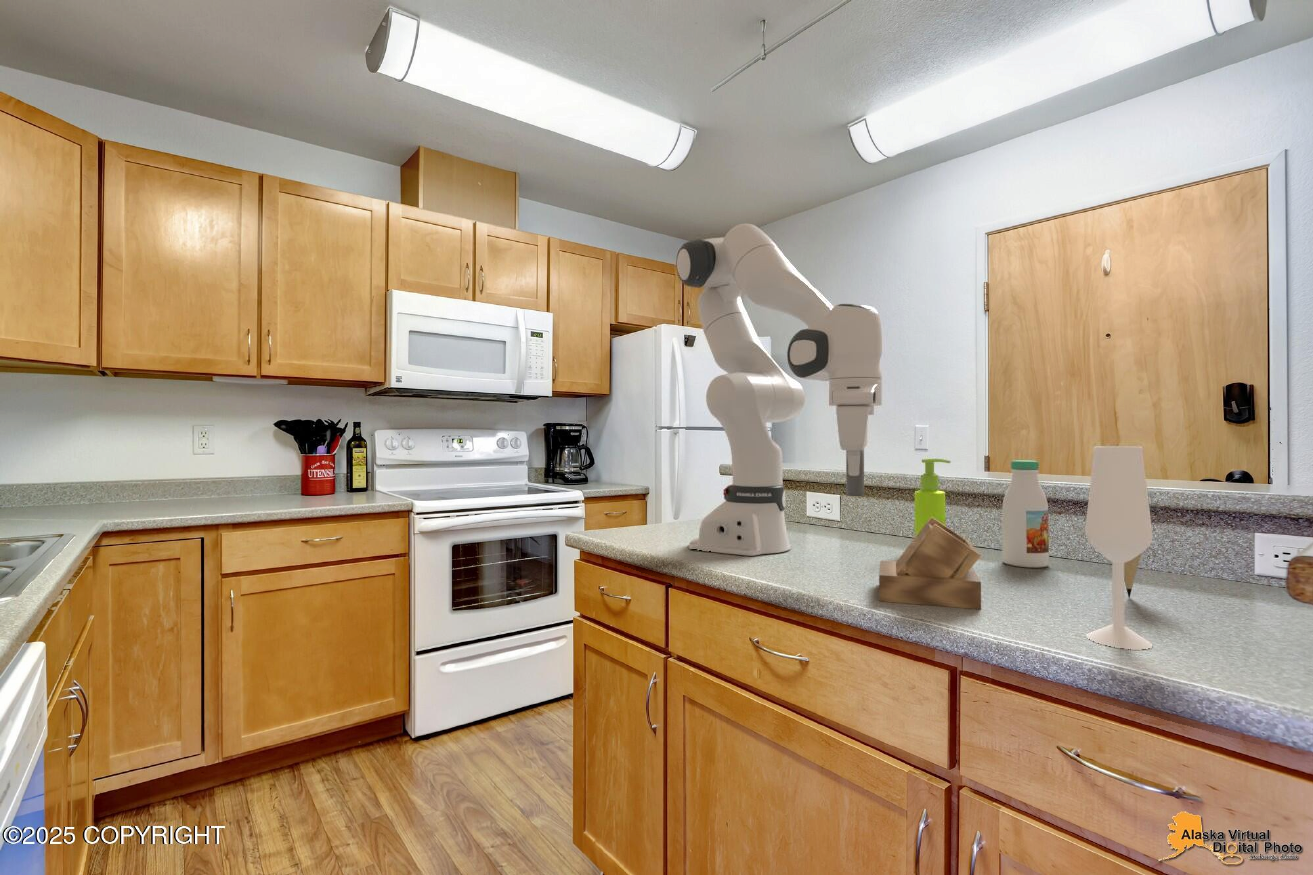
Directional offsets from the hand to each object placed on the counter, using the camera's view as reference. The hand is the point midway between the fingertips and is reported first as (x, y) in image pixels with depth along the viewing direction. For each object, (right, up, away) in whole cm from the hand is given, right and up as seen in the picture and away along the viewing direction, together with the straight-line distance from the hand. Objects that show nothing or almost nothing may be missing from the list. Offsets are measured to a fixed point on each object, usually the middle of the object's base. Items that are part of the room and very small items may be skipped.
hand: (854, 474), depth 110 cm
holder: (+8, -19, -11) cm, 23 cm away
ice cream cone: (+38, -18, -14) cm, 44 cm away
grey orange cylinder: (0, -4, 0) cm, 4 cm away
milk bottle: (+36, -18, +10) cm, 42 cm away
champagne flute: (+22, -19, -33) cm, 44 cm away
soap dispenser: (+23, -18, +20) cm, 36 cm away
